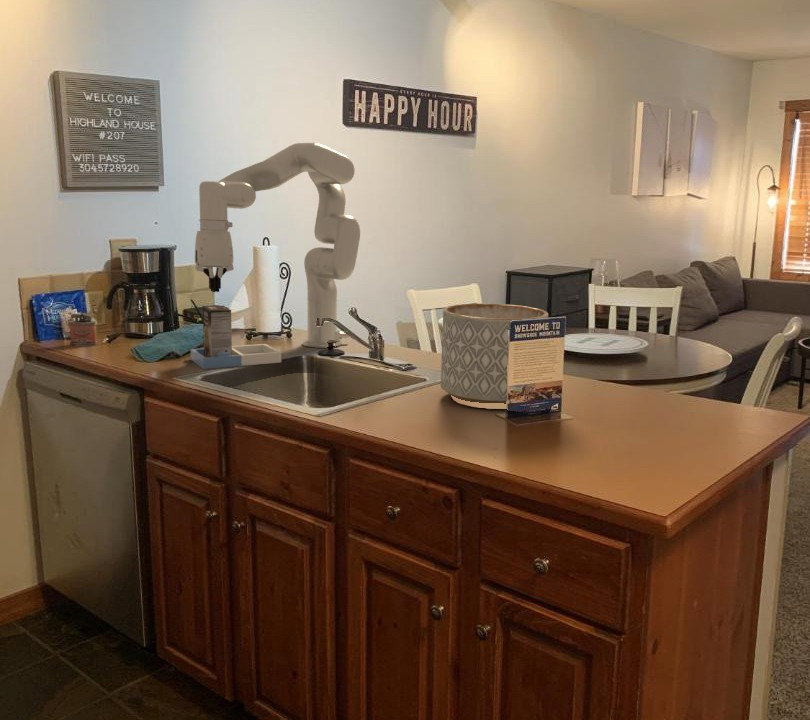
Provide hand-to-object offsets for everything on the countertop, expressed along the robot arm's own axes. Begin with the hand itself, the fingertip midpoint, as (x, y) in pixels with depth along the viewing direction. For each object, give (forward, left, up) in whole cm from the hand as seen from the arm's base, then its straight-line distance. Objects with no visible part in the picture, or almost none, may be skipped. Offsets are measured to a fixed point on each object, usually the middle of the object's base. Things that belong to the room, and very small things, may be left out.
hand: (215, 291), depth 227 cm
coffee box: (0, 0, -21) cm, 21 cm away
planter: (-51, +66, -21) cm, 86 cm away
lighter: (+31, -41, -21) cm, 55 cm away
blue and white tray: (-6, 0, -21) cm, 22 cm away
